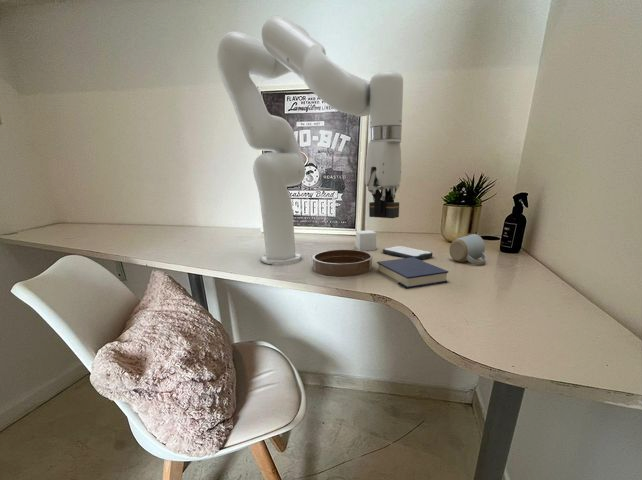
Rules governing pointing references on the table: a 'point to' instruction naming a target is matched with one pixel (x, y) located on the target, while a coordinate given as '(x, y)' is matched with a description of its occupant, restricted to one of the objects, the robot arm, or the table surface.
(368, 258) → the bowl
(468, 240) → the ceramic mug
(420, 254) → the phone case
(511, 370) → the table surface
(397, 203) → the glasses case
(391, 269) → the book
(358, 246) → the white cube
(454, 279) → the table surface
